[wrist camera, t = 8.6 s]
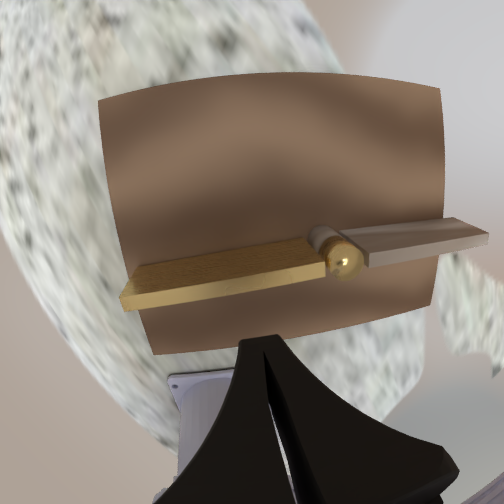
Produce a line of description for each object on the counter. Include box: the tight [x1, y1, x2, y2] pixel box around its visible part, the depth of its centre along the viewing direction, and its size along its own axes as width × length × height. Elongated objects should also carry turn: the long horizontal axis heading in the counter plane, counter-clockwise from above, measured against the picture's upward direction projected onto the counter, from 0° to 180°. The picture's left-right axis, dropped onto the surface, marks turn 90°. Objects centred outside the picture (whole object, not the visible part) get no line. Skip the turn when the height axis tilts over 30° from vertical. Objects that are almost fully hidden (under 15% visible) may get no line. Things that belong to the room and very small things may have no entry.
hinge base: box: [98, 72, 489, 355], centre depth 16 cm, size 17×23×5 cm
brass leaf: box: [119, 236, 364, 312], centre depth 15 cm, size 12×2×4 cm, turn 98°
